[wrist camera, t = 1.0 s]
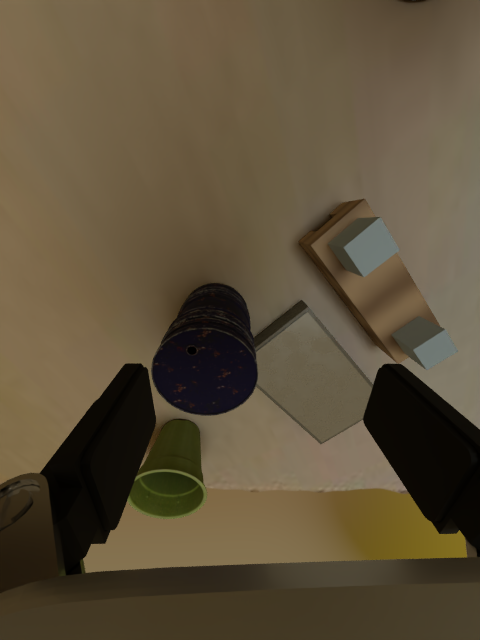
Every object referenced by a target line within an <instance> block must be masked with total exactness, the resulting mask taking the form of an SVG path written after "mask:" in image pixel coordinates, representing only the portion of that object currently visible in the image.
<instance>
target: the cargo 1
mask: <svg viewBox="0 0 480 640" xmlns="http://www.w3.org/2000/svg"><path fill="white" fill-rule="evenodd" d="M328 245H329V247H330V248H331V249H332V251H333V252H334V254H335V255H336V257H337V258H338V259H339V261H340V262H341V264H342V265H343V266H344V268H345V269H346V270H347V271H350V272H352V273H354V274H357V275H359V276H362V277H365V276H367V275H368V274H369V273H371V272H372V271H373V270H374V269H376V268H377V267H378V266H380V265H381V264H382V263H384V262H385V261H386V260H388V259H389V258H390V257H391V256H393V255H394V254H395V253H397V252H398V251H399V248H398V247H397V245H396V243H395V241H394V240H393V238H392V236H391V235H390V233H389V231H388V230H387V228H386V226H385V224H384V223H383V221H382V219H381V218H380V217H369V218H357V219H356V220H355V221H354V222H353V223H352V224H350V225H349V226H348V227H347V228H346V229H344V230H343V231H342V232H341V233H340V234H339V235H337V236H336V237H335V238H334V239H333V240H331V241H330V242H329V243H328Z"/></svg>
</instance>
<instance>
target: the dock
mask: <svg viewBox="0 0 480 640" xmlns="http://www.w3.org/2000/svg"><path fill="white" fill-rule="evenodd" d="M254 345H255V350H256V361H257V366H258V380H257V384H256V387H258V388H259V389H260V390H261V391H262V392H263V393H264V394H265V395H267V396H268V397H269V398H270V399H271V400H272V401H273V402H274V403H275V404H277V405H278V406H279V407H280V408H281V409H282V410H283V411H284V412H285V413H287V414H288V415H289V416H290V417H291V418H292V419H293V420H294V421H296V422H297V423H298V424H299V425H300V426H301V427H302V428H303V429H304V430H306V431H307V432H308V433H309V434H310V435H311V436H312V437H313V438H315V439H316V440H317V441H318V442H319V443H320V444H322V443H324V442H326V441H328V440H329V439H331V438H333V437H334V436H336V435H338V434H339V433H341V432H343V431H344V430H346V429H348V428H349V427H351V426H353V425H355V424H356V423H358V422H360V421H361V420H363V416H364V413H365V410H366V406H367V403H368V400H369V397H370V394H371V391H372V388H373V384H372V383H371V382H370V380H369V379H368V378H367V377H366V376H365V374H364V373H363V372H362V371H361V370H360V368H359V367H358V366H357V365H356V364H355V362H354V361H353V360H352V359H351V358H350V356H349V355H348V354H347V353H346V352H345V350H344V349H343V348H342V347H341V346H340V344H339V343H338V342H337V341H336V340H335V338H334V337H333V336H332V335H331V334H330V332H329V331H328V330H327V329H326V328H325V326H324V325H323V324H322V323H321V322H320V320H319V319H318V318H317V317H316V316H315V314H314V313H313V312H312V311H311V310H310V308H309V307H308V306H307V305H306V304H305V303H304V302H303V301H302V300H301V301H300V302H299V303H297V304H296V305H295V306H294V307H292V308H291V309H290V310H289V311H287V312H286V313H285V314H284V315H282V316H281V317H280V318H279V319H277V320H276V321H275V322H274V323H272V324H271V325H270V326H269V327H267V328H266V329H265V330H264V331H262V332H261V333H260V334H259V335H257V336H256V337H255V338H254Z"/></svg>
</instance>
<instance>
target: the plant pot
mask: <svg viewBox="0 0 480 640" xmlns="http://www.w3.org/2000/svg"><path fill="white" fill-rule="evenodd" d="M206 499H207V491H206V487H205V485H204V484H203V474H202V470H201V449H200V432H199V429H198V427H197V426H196V425H195V424H194V423H192V422H190V421H188V420H184V421H183V420H178V419H177V420H172V421H170V422H168V423H167V424H165V426H164V427H163V428H162V430H161V432H160V434H159V436H158V438H157V440H156V442H155V444H154V446H153V447H152V449H151V451H150V453H149V455H148V457H147V459H146V461H145V463H144V464H143V466H142V467H141V468H140V469H139V471H138V473H137V476H136V478H135V481H134V484H133V486H132V489H131V492H130V494H129V497H128V500H127V501H128V502H129V504H130V505H131V506H132V507H133V508H134V509H135V510H137V511H139V512H140V513H142V514H144V515H147V516H150V517H155V518H161V519H175V518H181V517H184V516H188V515H190V514H192V513H195V512H196V511H197V510H198V509H200V508H201V507H202V506H203V505H204V503H205V501H206Z"/></svg>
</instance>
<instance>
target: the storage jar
mask: <svg viewBox="0 0 480 640" xmlns="http://www.w3.org/2000/svg"><path fill="white" fill-rule="evenodd" d="M151 373H152V379H153V382H154V385H155V387H156V389H157V391H158V392H159V394H160V395H161V396H162V397H163V398H164V399H165V400H166V401H167V402H168V403H169V404H171V405H172V406H174V407H176V408H177V409H179V410H182V411H184V412H187V413H191V414H195V415H203V416H211V415H219V414H223V413H226V412H229V411H232V410H234V409H235V408H237V407H239V406H240V405H242V404H243V403H244V402H245V401H246V400H247V399H248V398H249V397H250V396H251V394H252V393H253V391H254V389H255V387H256V384H257V380H258V366H257V361H256V350H255V345H254V339H253V336H252V333H251V331H250V316H249V312H248V309H247V306H246V303H245V301H244V299H243V297H242V296H241V295H240V294H239V293H238V292H237V291H236V290H235V289H233V288H231V287H230V286H227V285H224V284H219V283H211V284H206V285H203V286H201V287H199V288H197V289H196V290H194V291H193V292H192V293H191V294H190V296H189V297H188V298H187V299H186V301H185V302H184V304H183V305H182V307H181V309H180V311H179V313H178V316H177V318H176V319H175V320H174V321H173V323H172V324H171V325H170V327H169V329H168V331H167V332H166V334H165V336H164V338H163V340H162V342H161V345H160V347H159V348H158V350H157V352H156V354H155V356H154V358H153V362H152V369H151Z"/></svg>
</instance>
